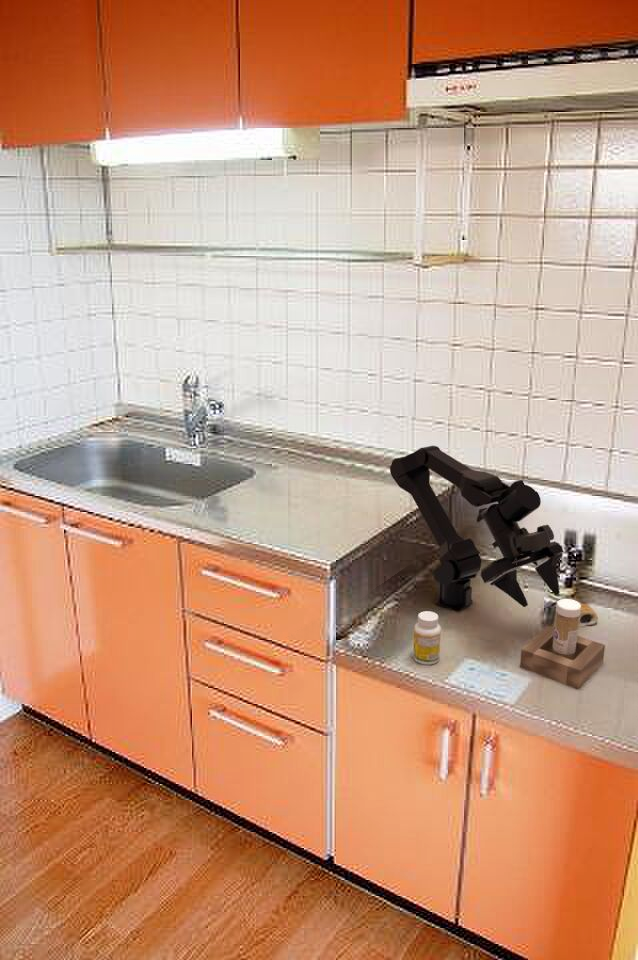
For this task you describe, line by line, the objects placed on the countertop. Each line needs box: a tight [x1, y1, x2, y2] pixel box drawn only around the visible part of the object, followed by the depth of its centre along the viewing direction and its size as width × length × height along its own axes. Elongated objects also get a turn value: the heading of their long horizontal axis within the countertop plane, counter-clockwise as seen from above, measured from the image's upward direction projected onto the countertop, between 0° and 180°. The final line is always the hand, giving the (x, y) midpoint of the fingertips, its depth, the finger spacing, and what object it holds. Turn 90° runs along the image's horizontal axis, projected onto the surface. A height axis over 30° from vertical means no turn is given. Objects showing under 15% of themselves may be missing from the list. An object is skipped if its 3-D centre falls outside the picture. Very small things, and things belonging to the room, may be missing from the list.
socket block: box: [519, 625, 606, 690], centre depth 156 cm, size 12×12×4 cm
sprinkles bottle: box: [552, 598, 581, 660], centre depth 155 cm, size 5×5×13 cm
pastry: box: [576, 600, 599, 628], centre depth 175 cm, size 9×7×4 cm
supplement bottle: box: [412, 610, 442, 666], centre depth 157 cm, size 5×5×10 cm
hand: (542, 600), depth 158 cm, fingers open, 9 cm apart
